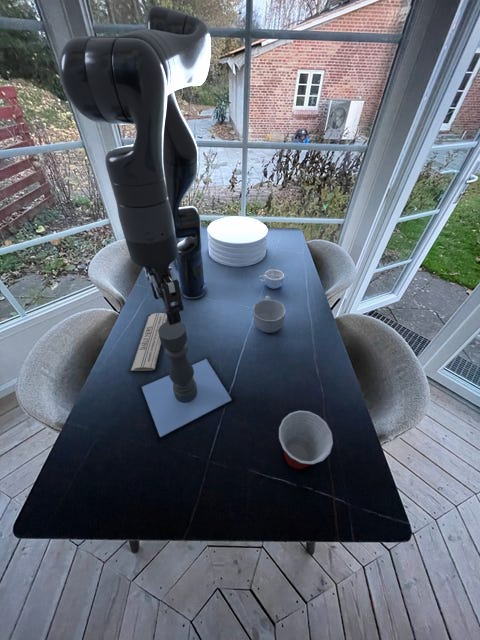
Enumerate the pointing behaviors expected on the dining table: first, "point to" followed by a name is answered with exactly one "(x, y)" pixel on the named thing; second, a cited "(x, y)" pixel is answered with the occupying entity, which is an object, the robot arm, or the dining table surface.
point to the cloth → (178, 414)
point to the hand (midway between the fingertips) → (167, 309)
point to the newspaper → (149, 344)
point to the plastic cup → (304, 439)
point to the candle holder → (178, 361)
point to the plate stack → (237, 241)
